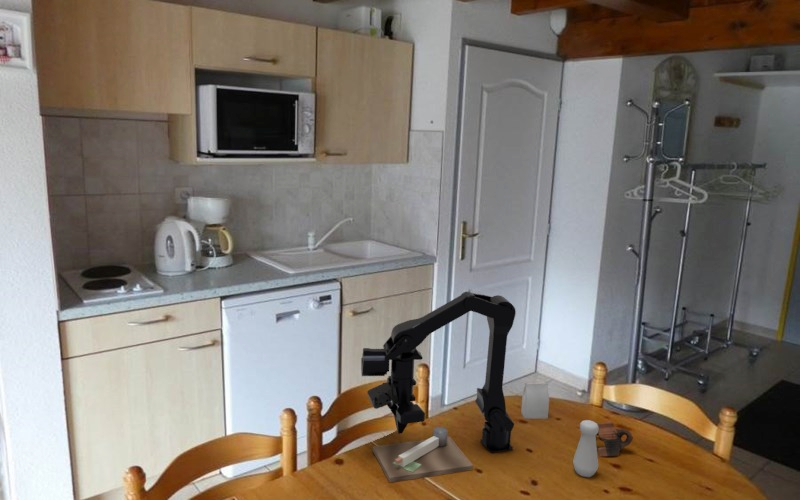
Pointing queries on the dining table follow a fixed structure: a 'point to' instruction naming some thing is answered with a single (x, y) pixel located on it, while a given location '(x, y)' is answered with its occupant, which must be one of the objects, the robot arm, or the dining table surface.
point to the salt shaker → (587, 450)
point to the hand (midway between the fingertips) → (400, 432)
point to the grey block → (535, 401)
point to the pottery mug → (612, 439)
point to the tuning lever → (423, 447)
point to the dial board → (421, 461)
